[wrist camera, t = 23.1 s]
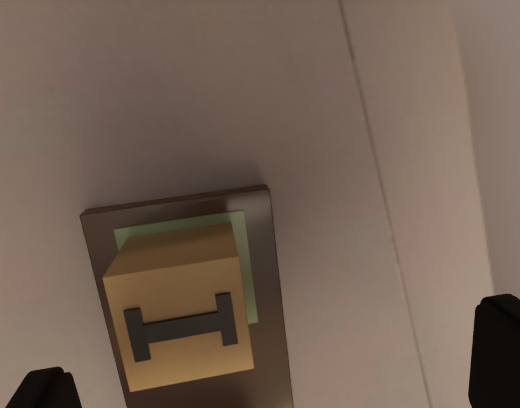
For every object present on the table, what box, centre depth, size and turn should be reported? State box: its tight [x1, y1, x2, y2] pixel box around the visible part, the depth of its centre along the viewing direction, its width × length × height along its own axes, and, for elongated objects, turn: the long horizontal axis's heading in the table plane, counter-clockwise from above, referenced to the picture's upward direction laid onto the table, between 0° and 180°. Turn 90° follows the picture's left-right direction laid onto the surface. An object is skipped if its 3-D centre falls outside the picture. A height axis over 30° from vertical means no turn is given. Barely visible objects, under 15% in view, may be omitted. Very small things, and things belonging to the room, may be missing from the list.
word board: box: [80, 185, 294, 408], centre depth 21 cm, size 22×9×1 cm, turn 7°
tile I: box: [103, 222, 254, 392], centre depth 17 cm, size 5×5×5 cm
